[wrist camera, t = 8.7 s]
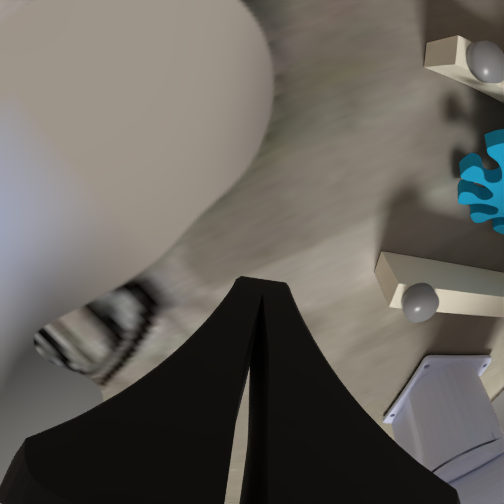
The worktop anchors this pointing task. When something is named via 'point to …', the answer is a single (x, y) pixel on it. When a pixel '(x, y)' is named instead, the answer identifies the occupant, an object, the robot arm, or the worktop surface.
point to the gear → (484, 183)
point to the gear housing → (437, 272)
